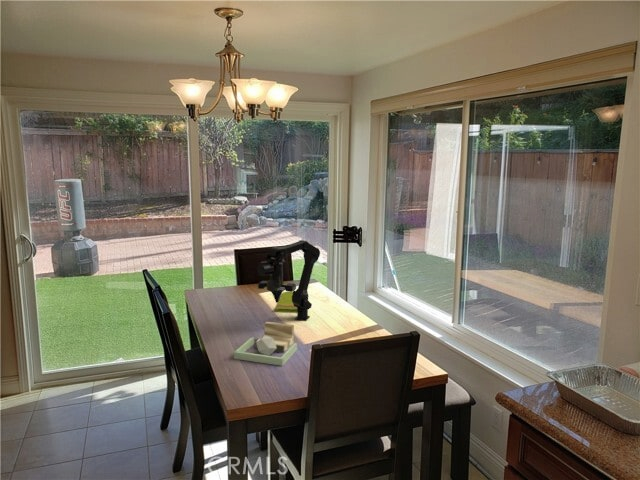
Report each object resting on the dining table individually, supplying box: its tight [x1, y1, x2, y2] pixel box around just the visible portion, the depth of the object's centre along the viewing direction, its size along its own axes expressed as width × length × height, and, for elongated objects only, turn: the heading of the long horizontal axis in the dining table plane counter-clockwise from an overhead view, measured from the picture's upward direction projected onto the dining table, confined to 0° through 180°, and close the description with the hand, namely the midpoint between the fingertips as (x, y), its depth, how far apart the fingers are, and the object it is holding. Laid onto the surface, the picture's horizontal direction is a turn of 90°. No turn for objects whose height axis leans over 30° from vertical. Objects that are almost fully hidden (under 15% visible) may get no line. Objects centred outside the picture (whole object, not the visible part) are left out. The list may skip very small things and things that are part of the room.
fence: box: [233, 336, 298, 367], centre depth 209 cm, size 18×22×3 cm
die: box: [256, 334, 277, 356], centre depth 209 cm, size 8×9×10 cm
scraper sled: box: [254, 321, 295, 354], centre depth 218 cm, size 13×14×8 cm
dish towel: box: [273, 291, 297, 314], centre depth 281 cm, size 15×36×3 cm, turn 177°
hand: (277, 302), depth 240 cm, fingers closed
